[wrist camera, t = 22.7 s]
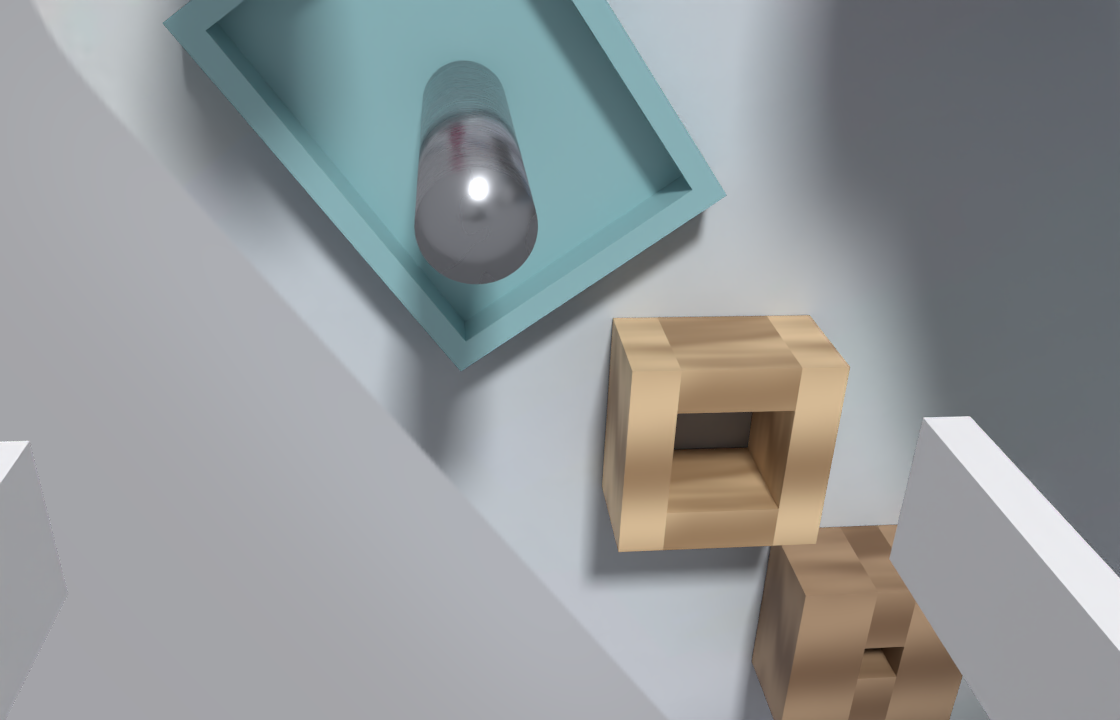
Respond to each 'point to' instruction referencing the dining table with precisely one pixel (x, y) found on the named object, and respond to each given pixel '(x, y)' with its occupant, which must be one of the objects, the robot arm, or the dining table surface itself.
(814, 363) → the oak block wide bore
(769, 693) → the walnut block narrow bore
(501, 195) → the cylinder
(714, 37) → the dining table surface
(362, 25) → the teal tray
